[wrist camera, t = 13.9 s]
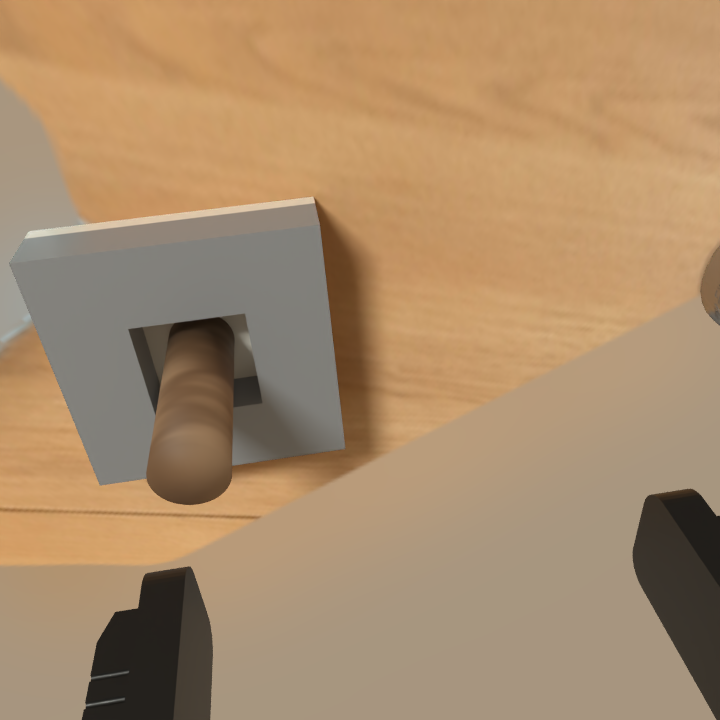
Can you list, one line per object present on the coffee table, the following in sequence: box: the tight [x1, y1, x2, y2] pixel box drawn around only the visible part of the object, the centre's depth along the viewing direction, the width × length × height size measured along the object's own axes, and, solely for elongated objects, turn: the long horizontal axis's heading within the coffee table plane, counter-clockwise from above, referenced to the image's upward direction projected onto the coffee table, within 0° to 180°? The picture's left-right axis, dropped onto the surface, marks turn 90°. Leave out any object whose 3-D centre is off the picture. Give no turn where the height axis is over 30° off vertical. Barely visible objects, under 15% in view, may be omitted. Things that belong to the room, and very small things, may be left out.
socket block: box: [9, 197, 345, 485], centre depth 42 cm, size 16×16×4 cm
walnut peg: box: [146, 317, 235, 505], centre depth 38 cm, size 4×4×12 cm
